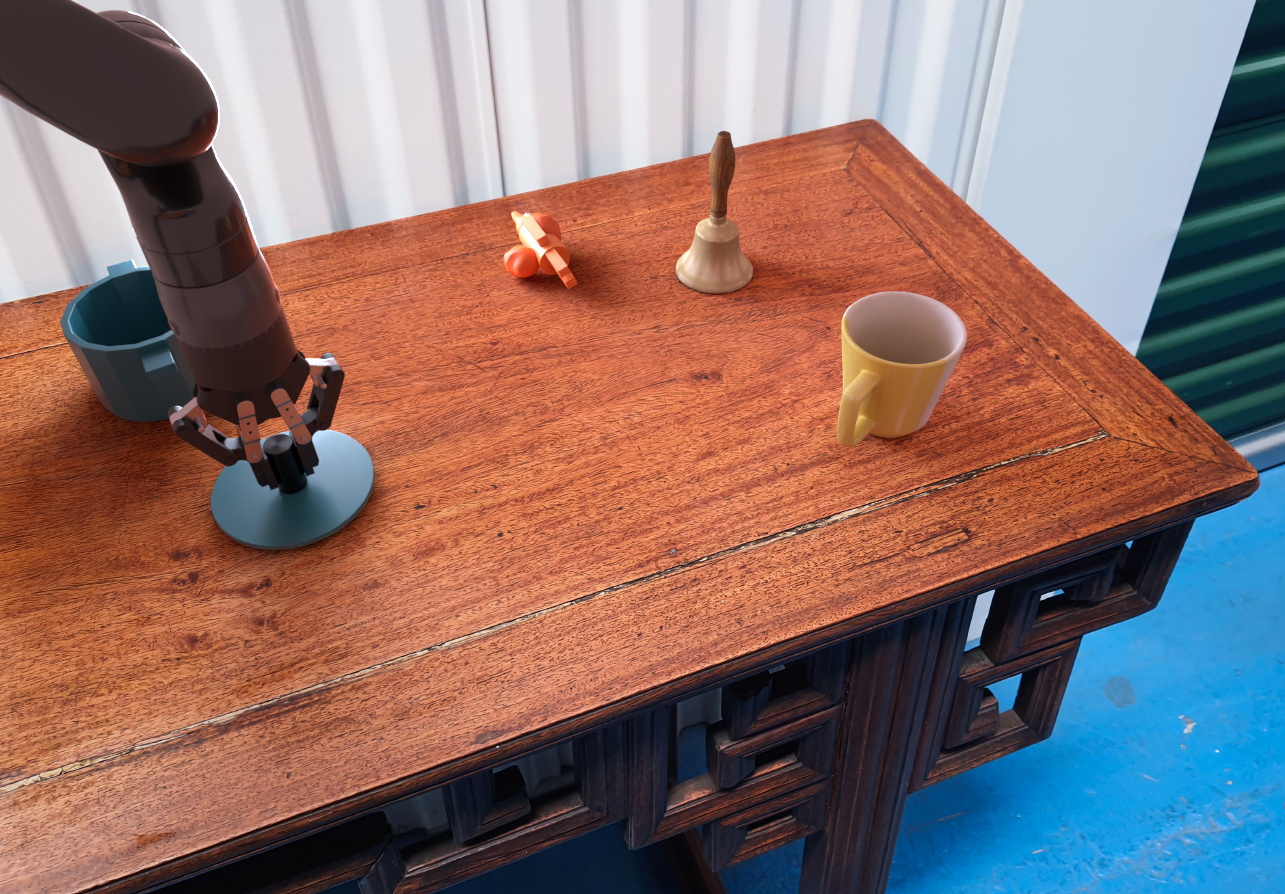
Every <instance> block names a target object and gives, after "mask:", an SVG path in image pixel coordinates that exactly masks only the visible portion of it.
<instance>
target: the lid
mask: <svg viewBox="0 0 1285 894" xmlns="http://www.w3.org/2000/svg"><path fill="white" fill-rule="evenodd" d="M288 431H289V430H286V431H282V432H279V433H276V434H273V435H270V436H267V437H264V438H262V439H260V443H261V445H262V447H263V450H264V452H265V454H266V456H267V458H268V461H269V463H270V466H271V468H272V471H273V473H274V476H275V478H276V481H277V483H278V486H279V488H276V489H274V490H270V487H269V485H267V486H265V487H262V486H260V485H259V484H258V482H257V480H256V478H255V475H254V473H253V471H252V468H251V466H250V464H249V462H247V461H244V460H241V461H237V463H236V464H235V465H233V466H224V467H223V469H222V470H221V471H220V473H219V475H218V476H217V478H216V480H215V482H214V484H213V486H212V490H211V495H210V509H211V514H212V517H213V519H214V521H215V523H216V524H217V526H218V528H219V529H220V530H221V531H222V533H223V534H225V535H226V536H227V537H228V538H230V539H231V540H232V541H235V542H236V543H238V544H241V545H243V546H245V547H250V548H253V549H259V550H265V551H266V550H267V551H268V550H269V551H279V550H281V551H282V550H290V549H297V548H301V547H305V546H309V545H311V544H314V543H317V542H319V541H321V540H324V539H326V538H328V537H330V536H333V535H334V534H336V533H338V532H339V531H340V530H342V529H343V528H344V527H346V526H347V525H349V524H350V523H351V522H352V521H353V520H354V519H355V518H357V516H358V515H359V514H360V513H361V512H362V510H363V509H364V508H365V506H366V505H367V504H368V502H369V499H370V498H371V496H372V493H373V490H374V487H375V481H376V471H375V466H374V462H373V460H372V457H371V455H370V453H369V452H368V450H367V449H366V448H365V447H364V446H363V444H361V443H360V442H359V441H357V440H356V439H354V438H353V437H351V436H349V435H348V434H345V433H343V432H340V431H337V430H332V429H327V430H325V431H317V432H316V433H315V434H314V435H313V437H312V441H313V444H314V447H315V450H316V453H317V456H318V458H319V465H318V466H316V467H313V469H314V472H315V474H312V475H309V476H306V474H305V472H304V469H303V466H302V464H301V461H300V458H299V455H298V453H297V450H296V447H295V445H294V442H293V439H292V437H291V436H290V435H289V432H288Z"/></svg>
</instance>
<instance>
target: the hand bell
mask: <svg viewBox="0 0 1285 894" xmlns="http://www.w3.org/2000/svg"><path fill="white" fill-rule="evenodd" d="M712 145H713V146H712V148H711V151H710V154H709V157H708V158H709V159H708V176H709V181H710V185H711V193H712V195H711V205H710V212H709V217H706V218H704V219H702V220H700V221H699V222H698V223H697V225H696V226H695V231H694V235H693V239H692V243H691V246H690V248H689V249H688V250H686V251H685V252H684V253H682V254H681V256H680V257H679V259H678V260H677V262H676V264H675V273H676V276H677V278H678V280H679V281H680V282H681V283H682V284H683V285H686V287H688V288H690V289H692V290H694V291H697V292H701V293H705V294H727V293H732V292H735V291H738V290H740V289H742V288H744V287H745V286H747V285H748V284H749V283H750V281H751V280H752V278H753V276H754V268H753V265H752V263H751V260H750V259H749V258H748V256H747V255H745V254H744V253H743V251H742V249H741V245H740V235H739V232H740V231H739V228H738V225H737V224H736V223H735V222H734V221H733V220H731V219H729V218H727V214H728V194H729V188H730V186H731V184H732V182H733V179H734V175H735V169H736V158H737V157H736V152H735V147H734V144H733V140H732V134H731V132H730V131H727V130H720V131H719V132H717V134H716V139H715V141H714V143H713V144H712Z"/></svg>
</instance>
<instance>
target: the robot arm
mask: <svg viewBox="0 0 1285 894" xmlns="http://www.w3.org/2000/svg"><path fill="white" fill-rule="evenodd" d="M0 96H1V97H2V98H4V99H6V100H7V101H10V102H11V103H12V104H14V105H15V106H17V107H19V108H20V109H22V110H24V111H26V112H27V113H29V114H31V115H33V116H34V117H37V118H38V119H40V120H42V121H43V122H46V123H47V124H49V125H51V126H52V127H54V128H56V129H57V130H60V131H62V132H63V133H65V134H67V135H68V136H71V137H73V138H74V139H76V140H78V141H80V142H81V143H84V144H86V145H87V146H89V147H92V148H93V149H95V150H97V153H98V154H99V155H100V158H101V159H102V161H103V163H104V165H105V167H106V169H107V170H108V172H109V174H110V176H111V178H112V180H113V182H114V183H115V185H116V187H117V189H118V191H119V193H120V196H121V198H122V200H123V203H124V207H125V209H126V212H127V215H128V218H129V221H130V225H131V228H132V230H133V233H134V236H135V238H136V240H137V242H138V245H139V247H140V249H141V251H142V254H143V257H144V258H145V261H146V263H147V266H149V267H150V270H151V272H152V274H153V277H154V280H155V284H156V288H157V292H158V296H159V299H160V302H161V304H162V307H163V309H164V312H165V314H166V316H167V318H168V324H169V326H170V328H171V330H172V331H173V332H174V334H175V336H176V339H177V341H178V343H179V346H180V348H181V350H182V352H183V355H184V357H185V359H186V361H187V364H188V366H189V368H190V370H191V373H192V375H193V377H194V380H195V385H194V389H193V394H194V398H193V399H192V400H191V401H190V402H189V403H187V404H186V405H185V406H184V407H183V408H182V407H180V406H174V407H172V408H170V409H169V410H168V417H169V419H168V420H169V423H170V426H171V428H172V430H173V432H174V435H175V436H176V437H177V438H178V439H180V440H182V441H184V442H185V443H187V444H189V445H190V446H192V447H193V448H195V449H197V450H198V451H200V452H201V453H203V454H205V455H207V456H208V457H209V458H211V459H213V460H214V461H216V462H218V463H219V464H220V465H221V464H222V465H223V466H224V467H226V466H233V465H235V464H236V463H237V461H241V460H244V461H247V462H249V464H250V466H251V468H252V471H253V473H254V475H255V478H256V480H257V482H258V484H259V485H260V486H262V487H265V486H267V485H269V487H270V490H274V489H276V488H279V486H278V483H277V481H276V478H275V476H274V473H273V471H272V468H271V466H270V463H269V461H268V458H267V456H266V454H265V452H264V450H263V447H262V445H261V443H260V440H261V435H260V431H259V426H260V425H262V424H263V423H265V422H266V421H268V420H273V419H279V418H282V419H283V421H284V423H285V424H286V426H287V428H288V430H287V431H288V432H289V435H290V436H291V437H292V439H293V442H294V445H295V447H296V450H297V453H298V455H299V458H300V461H301V464H302V466H303V469H304V472H305V474H306V476H309V475H312V474H315V472H314V469H313V467H316V466H318V465H319V458H318V456H317V453H316V450H315V447H314V444H313V441H312V437H313V435H314V434H315V433H316V432H317V431H325V430H330V427H332V423H333V420H334V415H335V412H336V408H337V405H338V402H339V398H340V395H341V391H342V388H343V384H344V381H345V377H346V373H345V371H344V369H343V367H342V366H341V364H340V363H339V361H338V359H337V357H336V355H335V354H333V353H331V352H326V353H324V354H322V355H321V356H320V358H307V357H306V356H305V354H304V353H303V352H302V351H301V350H299V349H298V348H297V345H296V344H295V340H294V337H293V334H292V330H291V327H290V325H289V322H288V319H287V316H286V312H285V310H284V309H285V308H284V307H283V304H282V301H281V292H280V289H279V288H278V287H277V285H276V283H275V280H274V277H273V275H272V272H271V269H270V267H269V265H268V262H267V261H266V259H265V257H264V255H263V253H262V252H261V250H260V249H261V248H260V247H259V244H258V241H257V238H256V234H255V232H254V229H253V226H252V224H251V221H250V217H249V215H248V212H247V209H246V207H245V206H246V205H245V203H244V200H243V199H242V196H241V194H240V192H239V190H238V188H237V186H236V184H235V182H234V181H233V179H232V177H231V176H230V174H229V173H228V172H227V170H226V169H225V168H224V166H223V164H222V163H221V161H220V159H219V157H218V156H217V153H216V151H215V149H214V148H215V147H214V146H213V142H214V140H215V138H216V136H217V133H218V130H219V126H220V117H221V116H220V105H219V100H218V97H217V95H216V91H215V89H214V87H213V85H212V82H211V81H210V79H209V77H208V76H207V74H206V72H204V70H203V69H202V68H201V66H199V64H198V63H197V62H196V61H195V60H194V58H192V56H190V54H189V53H187V51H186V50H185V49H184V48H183V47H182V45H181V44H180V43H179V42H178V41H177V39H175V38H174V37H173V36H172V35H171V33H169V32H168V31H167V30H166V29H164V28H163V27H162V26H160V24H158V23H156V22H155V21H154V20H151V19H149V18H147V17H145V16H143V15H141V14H138V13H135V12H132V11H127V10H120V9H119V10H118V9H110V10H103V11H99V12H95V11H93V10H91V9H90V8H88V7H86V6H83V5H82V4H80V3H78V2H76V1H74V0H0ZM309 376H310V379H311V381H312V388H311V392H310V395H309V400H308V403H307V407H306V411H304V412H303V413H302V414H301V413H300V411H299V410H298V408H297V406H296V404H297V402H298V399H299V397H300V395H301V393H302V391H303V389H304V387H305V385H306V383H307V380H308V378H309ZM205 413H208V414H211V415H212V416H214V417H217V418H219V419H222V420H224V421H226V422H228V423H231V424H233V425H234V426H235V429H236V434H237V437H231V438H230V437H229V436H228V435H226V434H224V433H223V432H221V431H220V430H218V429H216V428H215V427H214V426H212V425H210V424H209V423H208V421H207V418H206V416H205Z"/></svg>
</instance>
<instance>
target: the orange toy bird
mask: <svg viewBox="0 0 1285 894" xmlns="http://www.w3.org/2000/svg"><path fill="white" fill-rule="evenodd" d="M510 214H511V218H512V220H513V222H514V223H515V228H516V233H517V235H518V238H519V240H520V242H521V243H522V245H521V244H519V245H514V246H513V247H512V248H511V249H509V250H508V251H507V252H505V253H504V255H503V262H504V267H505V271H507V272H508V273H509V274H511V275H512V276H514V277H519V278H528V277H531V276H533V275H535V274H536V273H537V272H538V271H539V269H540V270H541V271H542V272H543V273H544V274H546V275H548V276H553V275H558V277H559V279H560V280H561V281H562V282H563V284H564V285H565V287H566V288H567V289H568V290H570V289H572V288H573V287H575V286H577V285H578V282H577V280H576V278H575V276H574V274H573V273H572V272H571V270H570V267H568V265H569V263H570V260H571V254H570V252H569V250H568V248H567V247H565V244H564V243H562V241H561V240H562V232H561V227H560V224H559V222H558V221H557V220H556V219H554V218H553V217H552V216H550V215H548V214H545V213H543V212H532V213H530V212H525V213H520V212H518V211H516V210H513V211H512V212H511V213H510Z"/></svg>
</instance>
